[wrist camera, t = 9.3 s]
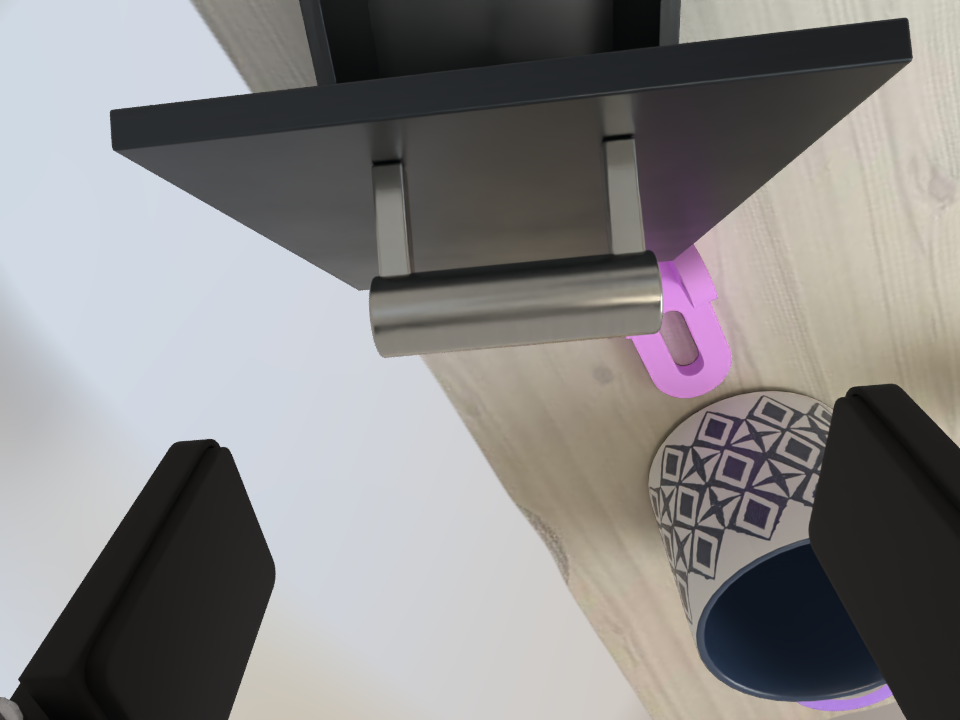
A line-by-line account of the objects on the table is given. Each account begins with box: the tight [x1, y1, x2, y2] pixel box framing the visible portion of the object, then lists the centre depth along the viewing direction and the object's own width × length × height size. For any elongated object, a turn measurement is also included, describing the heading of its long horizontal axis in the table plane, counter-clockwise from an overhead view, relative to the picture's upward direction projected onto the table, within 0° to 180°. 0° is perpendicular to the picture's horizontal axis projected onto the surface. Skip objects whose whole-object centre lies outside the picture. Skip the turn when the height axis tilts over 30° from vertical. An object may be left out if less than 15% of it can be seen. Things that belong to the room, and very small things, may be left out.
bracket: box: [626, 244, 732, 398], centre depth 42 cm, size 13×6×7 cm, turn 29°
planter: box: [648, 391, 887, 702], centre depth 46 cm, size 16×16×14 cm
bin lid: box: [110, 18, 913, 358], centre depth 21 cm, size 18×15×5 cm
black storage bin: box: [299, 0, 681, 86], centre depth 31 cm, size 18×15×12 cm
